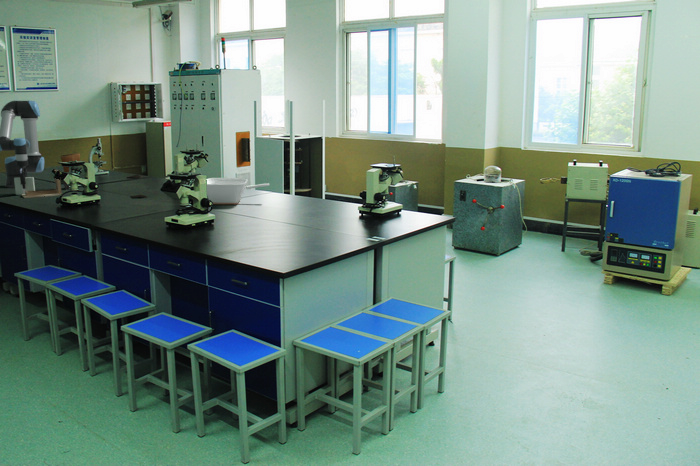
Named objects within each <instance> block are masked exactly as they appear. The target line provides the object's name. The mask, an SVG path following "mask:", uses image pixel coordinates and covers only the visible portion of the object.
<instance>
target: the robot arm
mask: <svg viewBox="0 0 700 466" xmlns="http://www.w3.org/2000/svg"><path fill="white" fill-rule="evenodd" d="M40 111H41V110H40V107H39V104H38V102H36V101H35V100H11V101H9V102H7V103H6V104H5V105H4V106H2V108H1V111H0V117H1V118H0V119H1V120H0V152H5V151H14V154H15V155H12V156H7V157H5V159H4V167H5V173H6V175H5V176H6V178H5V183H4V185H5V186H4V187H5V188H8V189H9V188H10V189H11V188H12V189H15V182H14V178H19V177H20V181H21V184H22V191H23V193H25V191H27V187H26V182H25V177H29V176H28V173H42V172H43V171H44V168H45V157H44V156H42V154H41V153H40V150H39V139H38V131H37V121H38V119H39V117H40V116H41V113H40ZM16 117H20V120H22V121H23V122H22V123H23V130H24V131H23V132H24V137H16V138H13V139H11V138H12V131H13V124H14V120H15V118H16Z"/></svg>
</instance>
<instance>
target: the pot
mask: <svg viewBox="0 0 700 466" xmlns="http://www.w3.org/2000/svg"><path fill="white" fill-rule="evenodd" d="M205 180H207V194H206V196H207V198H208V201H209V200H211V201H212V202H213V204H212V205H237V204H238V203H240V201H241V200H242V196H243V194H244V191H245V189H246V190H250V189H256V188H257V189H258V188H262V187H269V186H270V183H259V184H253V185H247V184H248V180H249V179H248V178H244V177H237V178H236V177H209V178H206V179H205Z"/></svg>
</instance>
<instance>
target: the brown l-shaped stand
mask: <svg viewBox="0 0 700 466" xmlns="http://www.w3.org/2000/svg"><path fill="white" fill-rule="evenodd" d="M56 170H57V171H59V170H58V169H54V171H56ZM54 171H53V172H54ZM54 181H55V188H50V189H38V190H37V189H35V191H25V194H22V195H21V196H22V197H23V198H24V199H30V198H43V197H44V196H45V197H54V196H62V195H63V193H62V183H61V179H60V180H59V179H56V178H55V177H54ZM61 194H62V195H61Z"/></svg>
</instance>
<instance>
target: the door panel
mask: <svg viewBox="0 0 700 466" xmlns="http://www.w3.org/2000/svg"><path fill="white" fill-rule="evenodd" d="M14 182H15V188H14V189H15V191H14V192H15V195H16V196H17V195H19V196H22V194H25V193H23V191H22V184H21V181H20V177H19V178H14ZM25 182H26V187H27V191H35V190H36V187H35V178H34V176H32V177H31V176H28V177H25Z"/></svg>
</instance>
